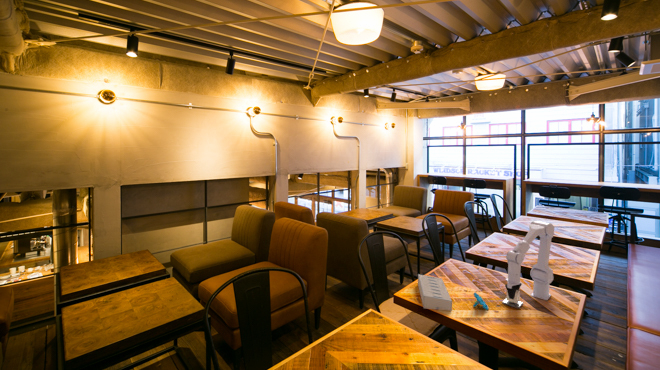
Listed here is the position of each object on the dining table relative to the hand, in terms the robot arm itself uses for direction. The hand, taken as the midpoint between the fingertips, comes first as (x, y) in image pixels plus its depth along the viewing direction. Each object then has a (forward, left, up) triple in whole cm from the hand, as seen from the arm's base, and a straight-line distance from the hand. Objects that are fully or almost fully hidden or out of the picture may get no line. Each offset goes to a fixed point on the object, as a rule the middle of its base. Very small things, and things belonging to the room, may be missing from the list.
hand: (513, 296), depth 163 cm
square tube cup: (0, 0, -2) cm, 2 cm away
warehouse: (+24, -34, -4) cm, 42 cm away
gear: (+17, -11, -4) cm, 20 cm away
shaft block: (0, 0, -4) cm, 4 cm away
